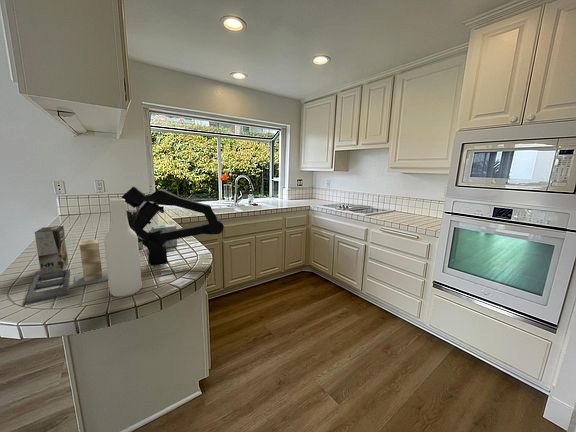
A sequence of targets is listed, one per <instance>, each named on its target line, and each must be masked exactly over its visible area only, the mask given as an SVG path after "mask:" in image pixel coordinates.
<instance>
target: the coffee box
mask: <svg viewBox="0 0 576 432" xmlns="http://www.w3.org/2000/svg"><path fill="white" fill-rule="evenodd" d="M34 237H35V243H36V244H35V245H36V251H37V256H38V263H39V264H38V265H39V268H40V269H39V270H40V274H46V273H51V272H57V271H63V270H66V268H67V266H68V265H69V264H70V263H69V257H68V250H67V243H66V242H67V241H66V237H65V229H64V225H59V226H58V225H56V226H48V227H46V226H45V227H41V228H39V229H38V230H36V231H34Z"/></svg>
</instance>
